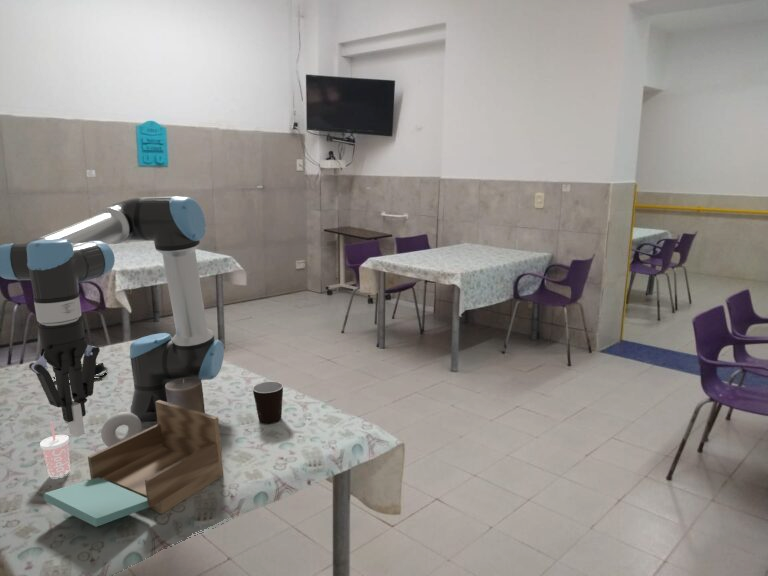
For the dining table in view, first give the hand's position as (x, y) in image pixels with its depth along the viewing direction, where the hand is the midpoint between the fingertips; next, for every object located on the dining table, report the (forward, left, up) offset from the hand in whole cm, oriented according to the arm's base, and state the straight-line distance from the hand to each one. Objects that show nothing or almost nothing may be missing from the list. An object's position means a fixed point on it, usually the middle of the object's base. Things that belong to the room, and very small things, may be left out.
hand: (77, 433), depth 114 cm
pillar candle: (-17, +40, -21) cm, 48 cm away
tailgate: (0, +8, -17) cm, 19 cm away
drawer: (0, +18, -20) cm, 27 cm away
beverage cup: (-25, +8, -21) cm, 33 cm away
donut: (-23, +24, -21) cm, 39 cm away
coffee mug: (-1, +57, -21) cm, 61 cm away
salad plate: (-85, +51, -21) cm, 101 cm away
